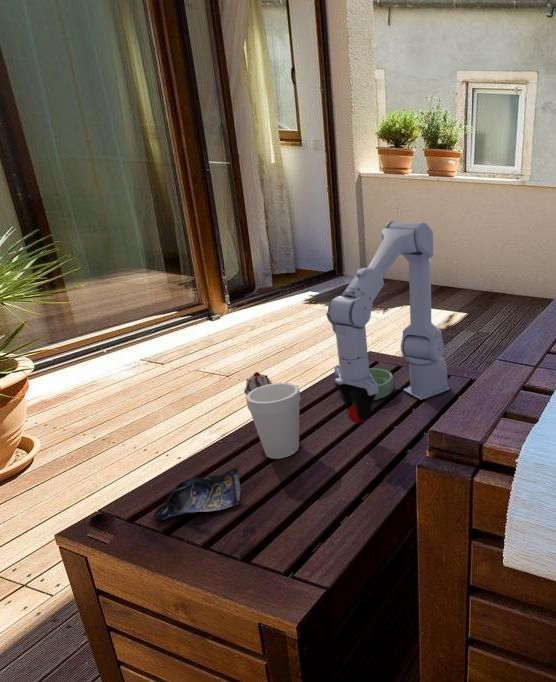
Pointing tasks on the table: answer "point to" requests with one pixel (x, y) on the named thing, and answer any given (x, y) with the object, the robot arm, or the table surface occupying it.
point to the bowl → (382, 382)
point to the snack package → (202, 495)
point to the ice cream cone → (256, 382)
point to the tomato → (354, 414)
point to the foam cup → (276, 418)
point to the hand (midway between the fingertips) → (359, 415)
